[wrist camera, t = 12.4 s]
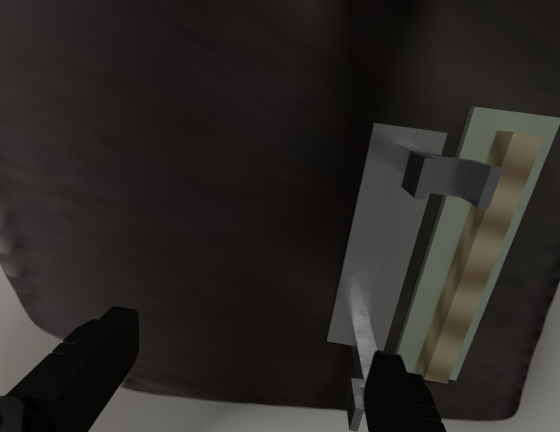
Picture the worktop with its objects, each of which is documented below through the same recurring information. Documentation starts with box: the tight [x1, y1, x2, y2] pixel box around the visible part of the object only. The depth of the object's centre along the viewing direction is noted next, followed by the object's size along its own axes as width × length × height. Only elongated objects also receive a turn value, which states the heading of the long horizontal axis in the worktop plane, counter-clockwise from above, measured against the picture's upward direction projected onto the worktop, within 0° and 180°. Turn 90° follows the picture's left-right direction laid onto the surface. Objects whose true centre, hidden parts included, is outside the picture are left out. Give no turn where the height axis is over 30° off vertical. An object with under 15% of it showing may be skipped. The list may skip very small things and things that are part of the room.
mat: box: [394, 107, 560, 380], centre depth 40 cm, size 36×9×1 cm, turn 173°
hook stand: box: [326, 123, 503, 431], centre depth 34 cm, size 30×8×15 cm, turn 173°
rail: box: [417, 130, 544, 383], centre depth 38 cm, size 32×3×3 cm, turn 173°
